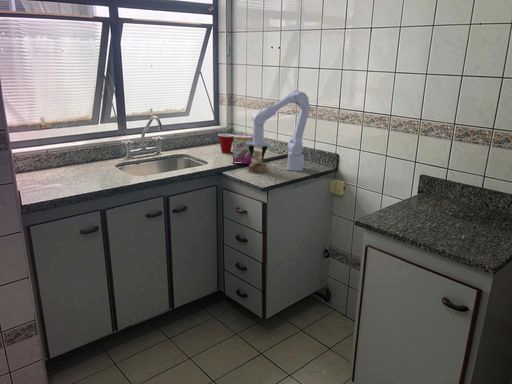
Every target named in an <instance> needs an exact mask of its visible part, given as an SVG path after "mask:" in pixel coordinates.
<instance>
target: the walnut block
mask: <svg viewBox="0 0 512 384" xmlns="http://www.w3.org/2000/svg"><path fill="white" fill-rule="evenodd" d="M265 171H267V163H265V162H262V164H257V163H253V161H252V163H251V164H248V173H255V174H256V173H257V174H264V172H265Z"/></svg>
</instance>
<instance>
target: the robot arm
mask: <svg viewBox="0 0 512 384" xmlns="http://www.w3.org/2000/svg"><path fill="white" fill-rule="evenodd" d="M288 104H296V105H297V107H298V108H299V112H298V116H297V118H296V119H297V120H296V123H295V127H294V130H293V133H292V137H290V140H289V142H288V143H287V146H286V148H287V151H288V153H287V165H286V169H285V170H286V171H293V172H295V171H296V172H303V171H304V168H305V164H304V162H305V154H302V152H303V135H304V131H305V127H306V124H307V120H308V118H309V114H310V111H311V105H310V102H309V97H308V95H307V94H306V93H305V92H303V91H300V90H297V89H296V90H294V91H292V92H290V93H288V94H287V95H285V96H284V97H283V98H282V99H281V100H279V101H277V102H276V103H275V104H274V105H272V104H270V105H266V107H265V108H264V109H262V110H259V111H258V113H255V114H253V117H252V118H251V119H252V122H253V128H252V130H253V131H252V136H253V141H252V142H245V146H249V150H250V153H251V156H252V160H253V152H254V151H255V148H257V147H258V148H261V151H262V160H263V161H264V158H265V154H266V152H267V149H268V148H269V149H270V148H272V143H269V142H264V131H265V130H264V124H265V123H266V121H267V120H269V119H271V118H272V117H274V116H275V115H277V111H278V110H280V109H282V108H283V107H285V106H287V105H288Z"/></svg>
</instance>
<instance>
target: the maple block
mask: <svg viewBox="0 0 512 384" xmlns="http://www.w3.org/2000/svg"><path fill="white" fill-rule="evenodd" d="M263 161H264V159H263V160H262V150H254V152H253V159H252V162H253V163H257V164H262V163H264V162H263Z"/></svg>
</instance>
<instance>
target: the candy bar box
mask: <svg viewBox="0 0 512 384" xmlns="http://www.w3.org/2000/svg"><path fill="white" fill-rule="evenodd" d="M233 135H234V137H233V141H232V164H234V162H241V163H245V164H244V165H250V164H251V163H252V162H253V159H252V156H251V153H250V150H249V146H245V142H253V135H252V136H251V135H237V134H236V135H235V134H233Z"/></svg>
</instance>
